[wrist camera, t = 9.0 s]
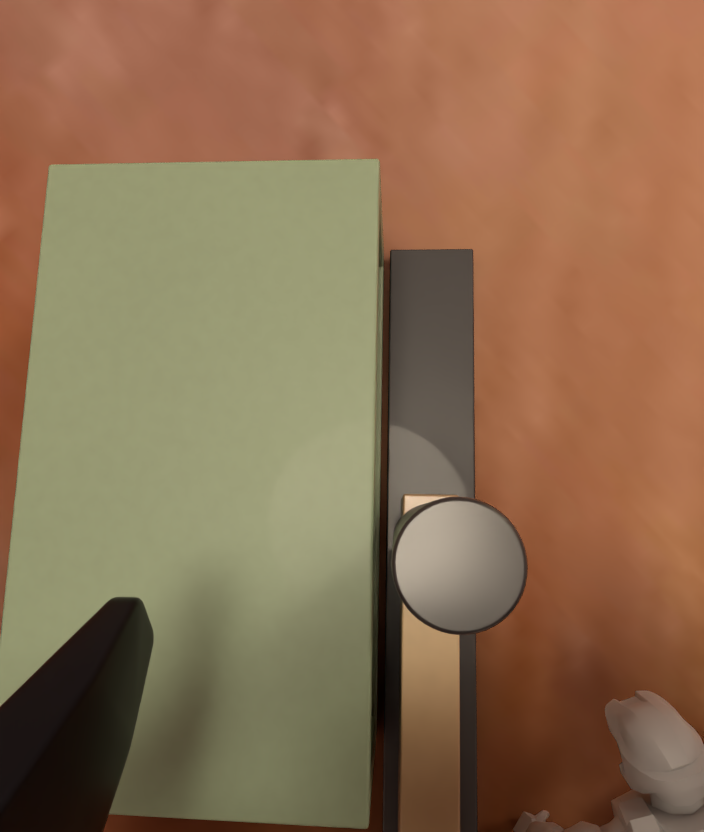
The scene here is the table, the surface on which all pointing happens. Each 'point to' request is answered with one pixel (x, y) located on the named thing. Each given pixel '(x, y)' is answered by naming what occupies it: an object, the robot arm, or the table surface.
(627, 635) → the table surface
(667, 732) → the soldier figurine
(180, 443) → the cabinet
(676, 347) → the table surface
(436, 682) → the door
